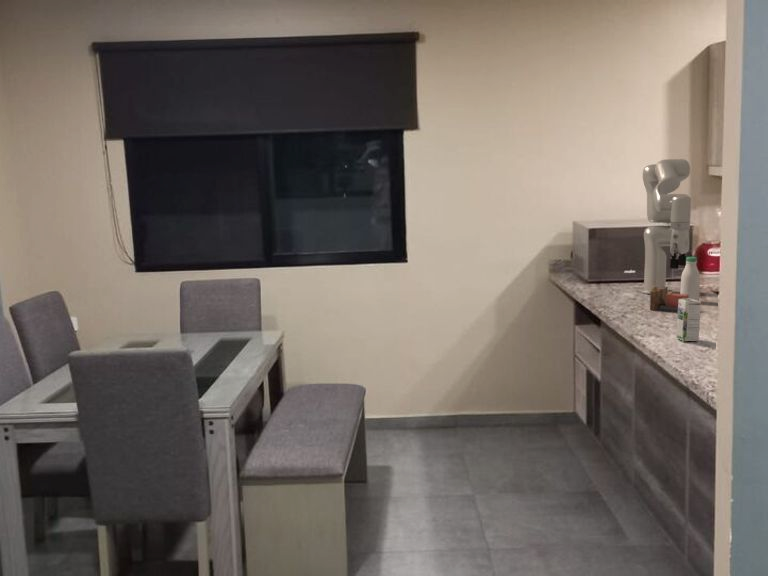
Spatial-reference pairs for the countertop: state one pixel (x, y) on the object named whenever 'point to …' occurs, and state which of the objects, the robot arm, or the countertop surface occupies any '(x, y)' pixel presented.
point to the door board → (657, 297)
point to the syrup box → (688, 319)
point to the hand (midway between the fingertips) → (678, 266)
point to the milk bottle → (690, 279)
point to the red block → (674, 299)
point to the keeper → (667, 308)
